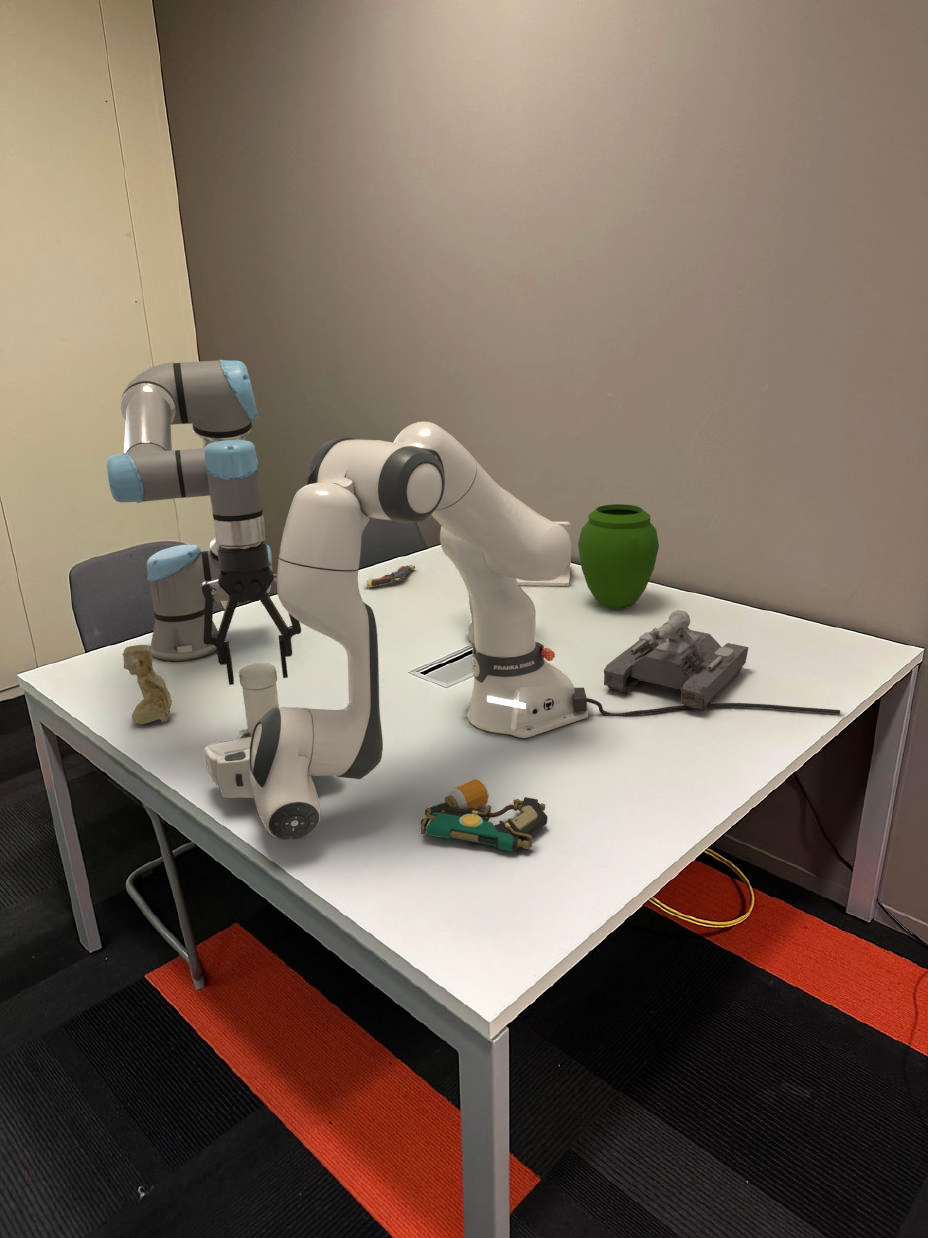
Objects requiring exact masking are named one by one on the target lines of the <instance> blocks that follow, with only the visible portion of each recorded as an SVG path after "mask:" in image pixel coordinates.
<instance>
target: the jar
mask: <svg viewBox="0 0 928 1238" xmlns="http://www.w3.org/2000/svg"><path fill="white" fill-rule="evenodd" d="M241 689H242V696H243V697H242V698H243V705H244V711H245V718H246V726H247V729H248V732H249V737H252V734H253V730H254V728H255V725H256V724H257V723H258V721H259V720H260V719H261V718H262V717H263V716H264V715H265V714H266V713H267V712H268V711H270V710H271V709H273V708H274V707H280V704H279V696H278V695H279V694H278V687H277V682H276V683H275V684H273V685H272V686H270V687H267V688H263V689H246V688H244V687H242V686H241Z"/></svg>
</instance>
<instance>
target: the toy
mask: <svg viewBox="0 0 928 1238" xmlns="http://www.w3.org/2000/svg"><path fill="white" fill-rule="evenodd" d="M690 624H691V617H690V614H689V613H688V612H687V611H685V610H680V609H676V610H674V611H672V612H671V613H670V614H669V617H668V620H667V621H665V623H663V624H662V625H660V626H659V627H658V628H657V627H654V628H653V629H652V630H651V631H647V632H644V633H643V634H641V635H639V637H638V640H637V641H636V642H634V644H632V645H631V646H630V647H628V648H626V649H625V650H624V651H623V652H622V653H620V654H619V655H618V656H616V657H615V658H613V659H612V660H611V661H610V662H608V663H607V664H606V666H605V668H604V669H603V685H604V686H607V688H608V689H609V690H610V689H611V690H615V691H618V692H622V693H628V692H629V691H630V690H631V689H632V688H634V687H635V686H636V685H637V684H638V683H640V682H645V683H648V684H649V683H650V684H653V685H658V686H662V687H667V688H671V689H675V690H680V691H681V693H680V705H685V706H688V707H691V708H690V709H696V710H700V711H705V709H707V708H708V707H707V706H708V704H709V703H713V702H714V700H715V699H716V698H717V697H718V696H719V695H720V694H721V693H722V692H723V691H724V690H725V689H726V688H727V687H728V686H729V684H731V683H732V682H733V680H734V679H735V678H736V677H738V676H739V674H740V673H741V672H742V669H743V667H744V666H745V664H746V663H747V658H748V652H749V646H746V645H745V646H744V645H740V644H735V643H730V642H726V643H725V644H724V645H723V646H721V644H720V643H719V642H718V641H717V640H716V639H715V638H714V637H713V635H711V633H709V632H702V631H698V630H693V629H690V628H689V626H690Z"/></svg>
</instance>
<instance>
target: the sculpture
mask: <svg viewBox="0 0 928 1238" xmlns="http://www.w3.org/2000/svg"><path fill="white" fill-rule="evenodd" d="M151 649H152V647H151V645H150V644H149V645H148V644H135V645H129V646H126V647H125V648H124V649H123V652H122V656H123V658H122V659H123V669H124V670H127V671H128V673H129V674H130V675H131V676H136V677H137V680H136V682H137V684H138V686H139V689H140V691H141V694H142V697H143V699H142V700H141V701H139V702H138V704H136V706H135V707H134V710H133V712H132V713H131V720H132V721H133V723H135V724H137V725H138V724H139V725H144V724H145V725H146V724H149V723H151V722H154V721H158V720H160V722H161V723H165V722H167V721H168V719H169V718H170V715H171V708H172V705H173V700H172V696H171V693H170V691H169V689H168V687H167V684H166V682H165V680H164V679H163V678H162V676H160V675H159V674H158V673H157V672H156V671H155V670H154V666H153V654H152V650H151Z"/></svg>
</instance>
